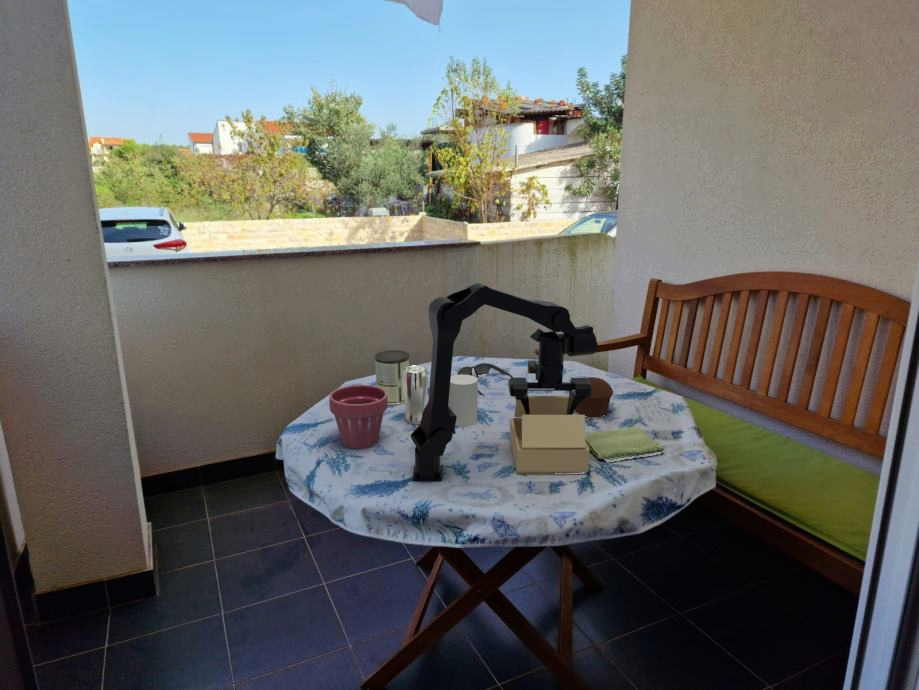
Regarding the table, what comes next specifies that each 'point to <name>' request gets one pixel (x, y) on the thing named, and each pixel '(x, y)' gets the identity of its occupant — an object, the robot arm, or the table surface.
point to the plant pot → (359, 414)
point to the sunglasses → (481, 370)
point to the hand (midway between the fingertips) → (547, 421)
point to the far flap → (543, 405)
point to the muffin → (596, 399)
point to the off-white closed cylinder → (464, 399)
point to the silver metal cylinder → (414, 392)
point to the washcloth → (621, 443)
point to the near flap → (553, 431)
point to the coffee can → (391, 374)
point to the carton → (545, 456)
